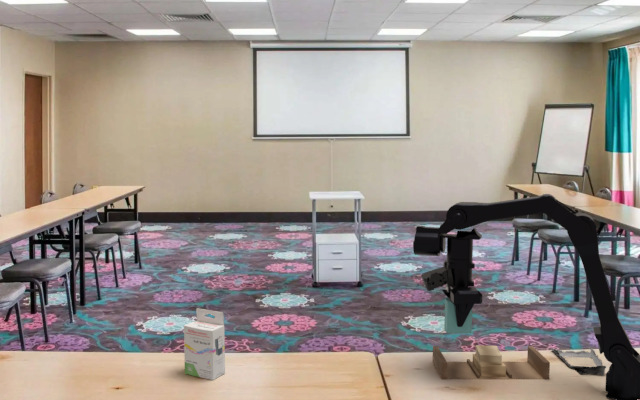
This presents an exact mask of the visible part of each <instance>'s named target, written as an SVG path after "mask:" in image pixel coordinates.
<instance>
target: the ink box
mask: <svg viewBox="0 0 640 400" xmlns="http://www.w3.org/2000/svg"><path fill="white" fill-rule="evenodd" d="M195 311H196V312H195V313H196V320H195V321H191V322H189V323H186V324H184V325H183V332H184V333H183V341H184V346H183V349H184V353H183V354H184V374H185V375H188V376H193V377H197V378H202V379H206V380H211V381H215V380H216V379H217V378H219V377H220V376H223V375H224V374H225V373H226V357H225V356H226V355H225V353H226V352H225V350H226V349H225V341H226V340H225V319H224V318H225V317H224V313H223V311H216V310H211V309H206V308H205V309H204V308H199V307H197V308H196V309H195ZM209 314H210V315H211V316H214V317H209V316H207V315H209Z"/></svg>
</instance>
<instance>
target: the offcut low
mask: <svg viewBox="0 0 640 400" xmlns="http://www.w3.org/2000/svg"><path fill="white" fill-rule="evenodd" d="M472 362H473V365H474V367H475V368H476V370H477V371H478V373H479V374H480V375H481V377H506V366H505V364H504V363H503V362H504V361H502V365H480V364H479V361H478V359H477V357H476V353H473V354H472Z"/></svg>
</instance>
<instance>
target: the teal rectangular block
mask: <svg viewBox="0 0 640 400" xmlns="http://www.w3.org/2000/svg"><path fill="white" fill-rule="evenodd" d="M472 322H473V308H472V309H471V311H470V313H469V315H468V317H467V318H466V320H465V322H464V324H463V326H462V327H458V326H457V322H456V315H455V308H454V304H453V303H452V302H451V301H450V300H449V299H448V297H445V298H444V323H443V324H444V328H443V330H444V331H445V332H446V334H455V335H456V334H464V335H465V334H468V335H469V334H472V326H473V323H472Z"/></svg>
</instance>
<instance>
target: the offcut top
mask: <svg viewBox="0 0 640 400" xmlns="http://www.w3.org/2000/svg"><path fill="white" fill-rule="evenodd" d="M475 354H476V357H477V359H478V361H479V364H480V365H502V362H503V360H502V359H503V356H502V354H501V351H500V350H499V348H498V346H497V345H483V344H482V345H479V344H478V345H477V344H476V345H475Z"/></svg>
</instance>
